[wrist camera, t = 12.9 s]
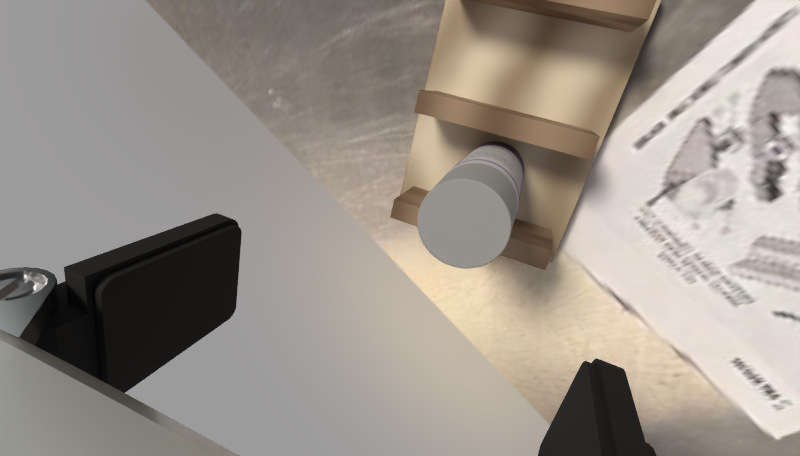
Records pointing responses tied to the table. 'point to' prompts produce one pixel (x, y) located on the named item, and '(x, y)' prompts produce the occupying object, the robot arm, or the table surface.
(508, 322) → the table surface
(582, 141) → the slot rack
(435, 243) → the container
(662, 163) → the table surface
